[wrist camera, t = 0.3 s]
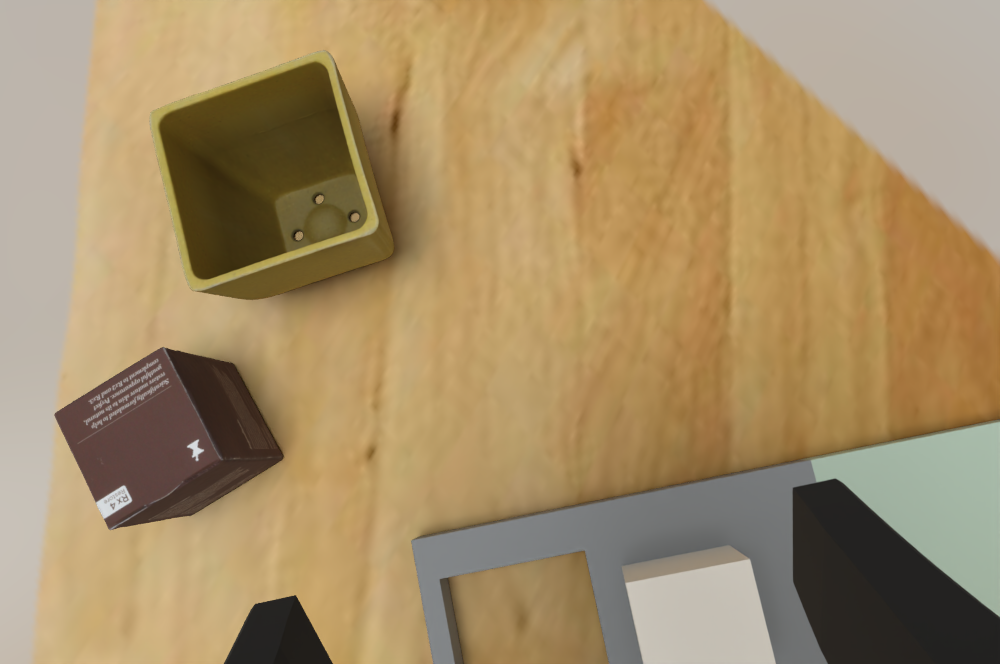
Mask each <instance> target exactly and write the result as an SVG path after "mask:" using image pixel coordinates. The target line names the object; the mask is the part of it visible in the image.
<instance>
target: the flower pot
mask: <svg viewBox="0 0 1000 664" xmlns="http://www.w3.org/2000/svg"><path fill="white" fill-rule="evenodd" d="M150 129H151V133H152V138H153V143H154V146H155V151H156V156H157V160H158V164H159V168H160V172H161V176H162V180H163V184H164V189H165V194H166V198H167V202H168V206H169V209H170V214H171V218H172V223H173V227H174V232H175V236H176V240H177V245H178V250H179V254H180V259H181V263H182V267H183V271H184V274H185V278H186V280H187V283H188V285H189V287H190V289H191V290H192V291H196V292H203V293H208V294H214V295H220V296H226V297H232V298H238V299H246V300H256V299H263V298H268V297H272V296H275V295H279V294H282V293H285V292H287V291H290V290H293V289H296V288H299V287H302V286H305V285H308V284H311V283H314V282H317V281H320V280H323V279H326V278H329V277H332V276H335V275H338V274H341V273H344V272H347V271H350V270H353V269H356V268H360V267H363V266H366V265H369V264H372V263H376V262H379V261H382V260H385V259H387V258H389V257H390V256H391V255H392V253H393V251H394V243H393V238H392V235H391V232H390V228H389V225H388V222H387V219H386V216H385V212H384V209H383V205H382V202H381V199H380V195H379V192H378V189H377V185H376V182H375V178H374V174H373V171H372V167H371V164H370V160H369V156H368V153H367V149H366V145H365V142H364V138H363V134H362V130H361V126H360V122H359V119H358V115H357V113H356V110H355V108H354V105H353V103H352V101H351V98H350V96H349V94H348V92H347V89H346V87H345V84H344V82H343V80H342V77H341V75H340V73H339V70H338V68H337V66H336V63H335V61H334V59H333V57H332V56H331V54H330V53H329V52H328V51H326V50H323V51H318V52H315V53H312V54H309V55H306V56H303V57H301V58H298V59H295V60H292V61H290V62H287V63H284V64H281V65H278V66H276V67H273V68H271V69H268V70H265V71H263V72H260V73H257V74H254V75H251V76H248V77H245V78H242V79H239V80H237V81H234V82H231V83H228V84H225V85H222V86H219V87H216V88H214V89H211V90H208V91H205V92H202V93H199V94H196V95H192V96H190V97H187V98H184V99H182V100H179V101H176V102H173V103H170V104H168V105H165V106H163V107H161V108H158V109H156V110H153V111H152V112H151V113H150ZM319 194H321V195H323V196H324V200H323V202H322V203H321V204H316V203H315V201H314V199H315V196H316V195H319ZM353 212H356V213H358V214H359V215H360V218H359V220H358V221H356V222H352V221H350V219H349V217H350V214H351V213H353ZM296 231H301V232H302V233H303V238H302V239H301V240H300V241H296V240H295V239H294V237H293V236H294V233H295V232H296Z"/></svg>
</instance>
